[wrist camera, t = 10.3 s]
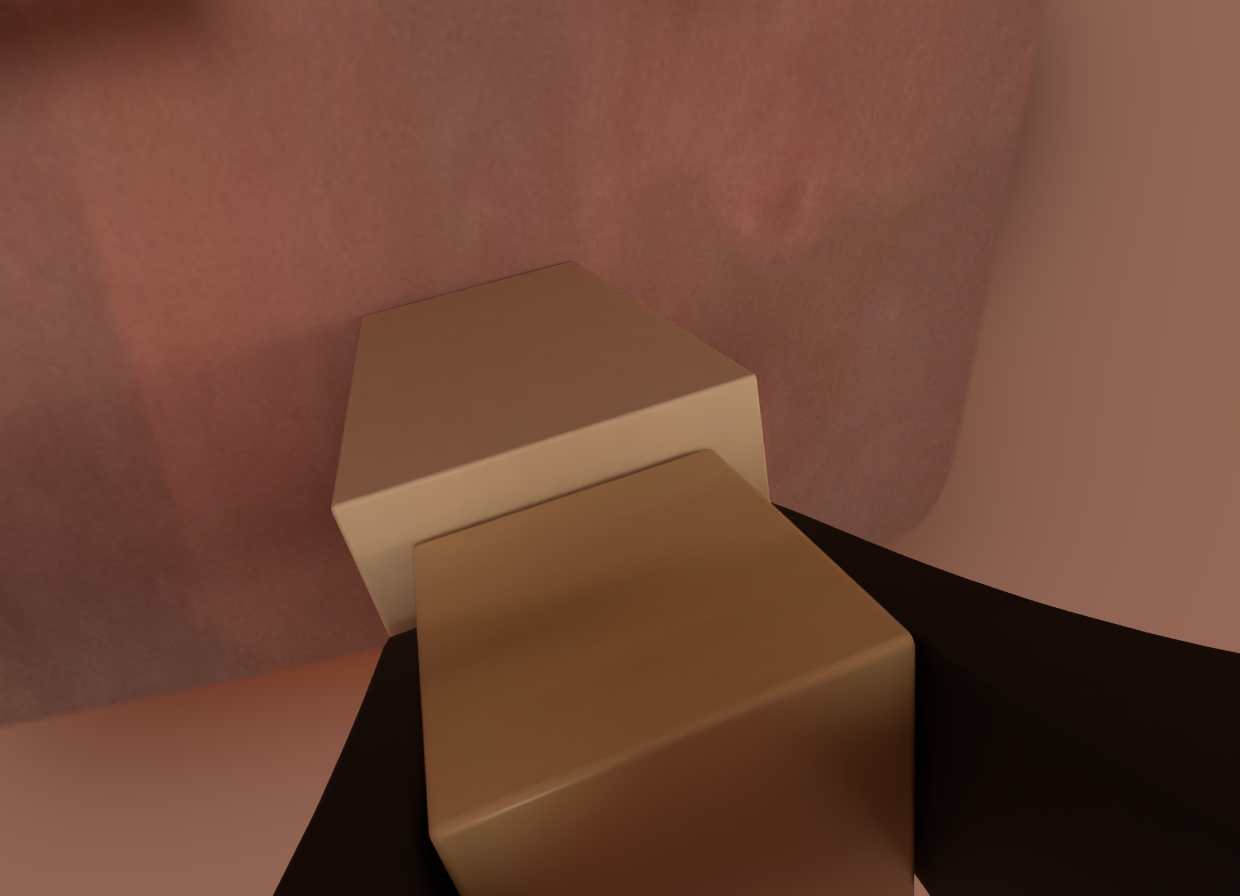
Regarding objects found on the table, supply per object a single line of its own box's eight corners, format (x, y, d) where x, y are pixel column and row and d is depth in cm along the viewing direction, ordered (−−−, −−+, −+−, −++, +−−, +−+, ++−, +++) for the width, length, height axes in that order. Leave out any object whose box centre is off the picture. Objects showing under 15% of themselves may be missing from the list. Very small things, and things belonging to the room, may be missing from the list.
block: (745, 666, 10) (918, 917, 7) (499, 764, 10) (559, 1098, 6) (713, 444, 8) (921, 635, 5) (409, 544, 8) (424, 839, 4)
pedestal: (614, 444, 19) (791, 678, 11) (431, 503, 18) (468, 810, 10) (573, 259, 17) (758, 373, 8) (360, 316, 16) (328, 508, 7)
